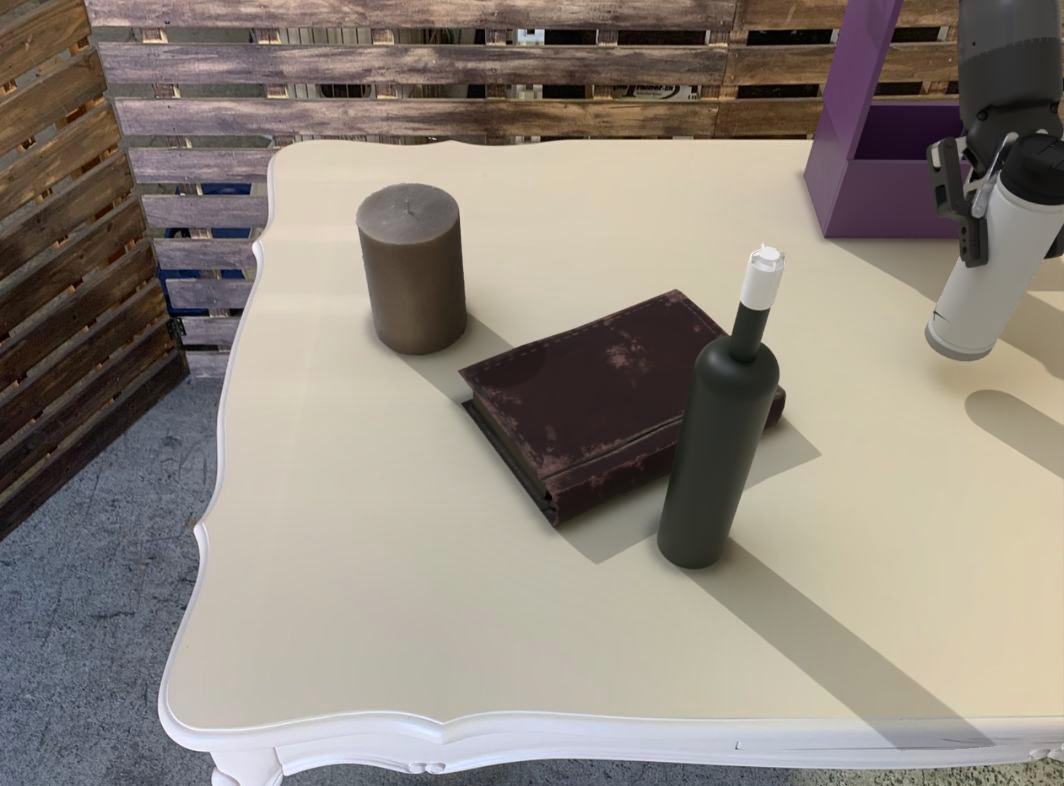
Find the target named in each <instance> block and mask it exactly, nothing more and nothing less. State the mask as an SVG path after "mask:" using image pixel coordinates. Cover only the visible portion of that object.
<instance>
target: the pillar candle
mask: <svg viewBox="0 0 1064 786" xmlns="http://www.w3.org/2000/svg"><path fill="white" fill-rule="evenodd" d="M460 212H461V211H460V207H459V204H458V202H457V201H456V198H455V197H454V196H452V194H450V193H449V192H448V191H445V190H444V189H443V188H440V187H437V186H435V185H430V184H424V183H418V182H417V183H416V182H415V183H413V182H412V183H410V182H401V183H397V184H391V185H387V186H385V187H383V188H381V189H380V190H377V191H374V192H372V193H371V194H370V195H368V196H366V197H365V198H364V200H363V201H362V202H361V204H360V205H359V206H358V208H357V211H356V213H355V217H356V218H355V224H356V226H357V231H358V238H359V242H360V248H361V254H362V255H361V258H362V262H363V269H364V273H365V278H366V284H367V291H368V298H369V302H370V309H371V315H372V323H373V327H374V331H375V334H376V336H377V337H378V340H379V341H380V342H381V343H382V344H384V346H386V347H387V348H389V349H391V350H393V351H395V352H397V353H398V354H403V355H408V356H426V355H430V354H435V353H438V352H441V351H443V350H445V349H447V348H449V347H450V346H452V345H453V344H455V343H456V342H457V341H458V340H460V339H461V338H462V337H461V336H462V335H463V334H464V333H465V331H466V326H467V322H468V313H467V304H466V303H467V302H466V300H467V298H466V286H465V283H466V282H465V276H464V275H465V272H464V260H463V258H464V257H463V244H462V227H461V215H460V214H461V213H460Z"/></svg>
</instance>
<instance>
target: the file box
mask: <svg viewBox="0 0 1064 786" xmlns="http://www.w3.org/2000/svg"><path fill="white" fill-rule="evenodd" d="M963 127H964V124H963V122H962V121H961V119H960V111H959V101H872V102H871V105H870V108H869V111H868V115H867V118H866V121H865V124H864V127H863V130H862V133H861V137H860V140H859V143H858V146H857V149H856V152H855V156H854V159H846V158H845V155H844V152H843V150H842V147H841V145H840V142H839V139H838V137H837V134H836V132H835V129H834V126H833V124H832V121H831V118H830V116H829V113H828V111H827V108H826V105H825V103H824V102H823V105H822V109H821V112H820V115H819V119H818V123H817V126H816V130H815V134H814V137H813V140H812V144H811V148H810V150H809V154H808V157H807V161H806V163H805V164H806V165H805V168H804V172H803V179H804V182H805V185H806V188H807V191H808V194H809V197H810V201H811V203H812V206H813V209H814V212H815V215H816V216H815V217H816V219H817V221H818V224H819V228H820V231H821V234H822V236H823V239H864V240H865V239H867V240H868V239H869V240H870V239H872V240H873V239H874V240H875V239H878V240H879V239H880V240H881V239H882V240H883V239H884V240H885V239H886V240H887V239H891V240H893V239H894V240H896V239H898V240H900V239H901V240H902V239H903V240H904V239H905V240H912V239H913V240H959V226H958V223H957V222H956V221H955V220H954V219H951V218H947V217H942V218H940V217H938V216H936V214H935V210H934V203H933V196H932V189H931V182H930V176H929V169H928V162H927V155H926V151H927V148H928V147H929V146H930V145H932V144H934V143H936V142H938V141H940V140H943V139H945V138H947V137H950V136H951V137H954V138H960V136H961V134H962V131H963ZM970 168H971V165H970V163H969V162H968V161H967V159H966V158H965V157H964V155H963V157H962V160H961V162H960V170H961V177H962V184H963V186H964V183H965V181H966V178H967V176H968V173H969V171H970Z"/></svg>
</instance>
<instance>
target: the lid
mask: <svg viewBox="0 0 1064 786" xmlns="http://www.w3.org/2000/svg"><path fill="white" fill-rule="evenodd" d="M904 1H905V0H848V1H847V4H846V8H845V12H844V15H843V18H842V23H841V26H840V30H839V34H838V38H837V42H836V45H835V49H834V53H833V56H832V59H831V64H830V67H829V71H828V74H827V79H826V82H825V85H824V89H823V92H822V97H821V98H822V100H823V104H824V103H825V105H826V108H827V111H828V113H829V116H830V118H831V121H832V124H833V126H834V129H835V132H836V134H837V137H838V139H839V142H840V145H841V147H842V150H843V152H844V155H845V158H846V159H854V156H855V152H856V149H857V146H858V143H859V140H860V137H861V133H862V130H863V127H864V124H865V121H866V118H867V115H868V111H869V108H870V105H871V102H873V99H874V95H875V92H876V89H877V87H878V84H879V80H880V77H881V73H882V70H883V67H884V64H885V61H886V57H887V55H888V51H889V48H890V45H891V42H892V39H893V36H894V34H895V33H894V32H895V29H896V26H897V23H898V20H899V16H900V13H901V10H902V7H903V4H904Z"/></svg>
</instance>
